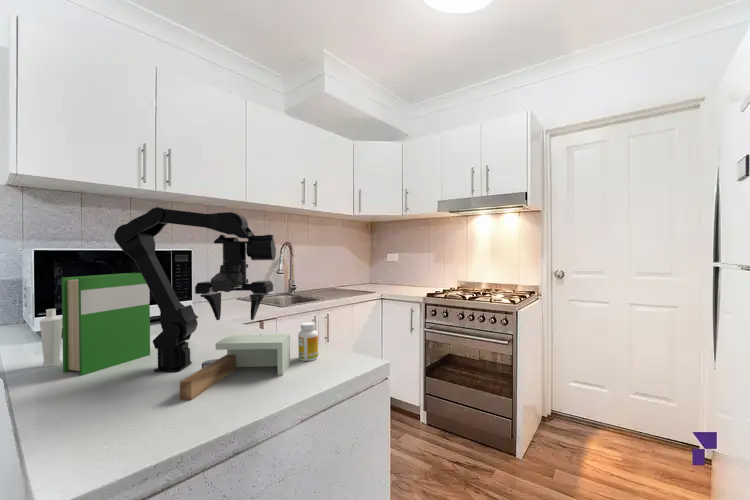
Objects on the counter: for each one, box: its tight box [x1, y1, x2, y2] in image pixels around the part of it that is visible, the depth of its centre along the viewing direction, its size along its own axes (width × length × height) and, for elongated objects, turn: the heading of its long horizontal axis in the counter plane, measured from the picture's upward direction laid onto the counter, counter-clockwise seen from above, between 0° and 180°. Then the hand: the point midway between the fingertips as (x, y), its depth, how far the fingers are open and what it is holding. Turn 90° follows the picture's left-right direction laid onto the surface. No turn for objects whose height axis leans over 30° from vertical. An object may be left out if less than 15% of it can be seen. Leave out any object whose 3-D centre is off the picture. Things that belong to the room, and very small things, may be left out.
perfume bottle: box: [39, 308, 63, 368], centre depth 93 cm, size 5×4×15 cm
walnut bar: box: [179, 354, 237, 401], centre depth 80 cm, size 2×18×4 cm, turn 174°
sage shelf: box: [214, 333, 291, 377], centre depth 88 cm, size 16×8×8 cm, turn 91°
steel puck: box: [201, 358, 219, 369], centre depth 87 cm, size 5×5×2 cm
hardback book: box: [61, 272, 151, 376], centre depth 95 cm, size 18×7×24 cm, turn 160°
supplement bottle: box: [297, 321, 319, 362], centre depth 97 cm, size 5×5×10 cm
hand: (235, 319), depth 91 cm, fingers open, 9 cm apart
